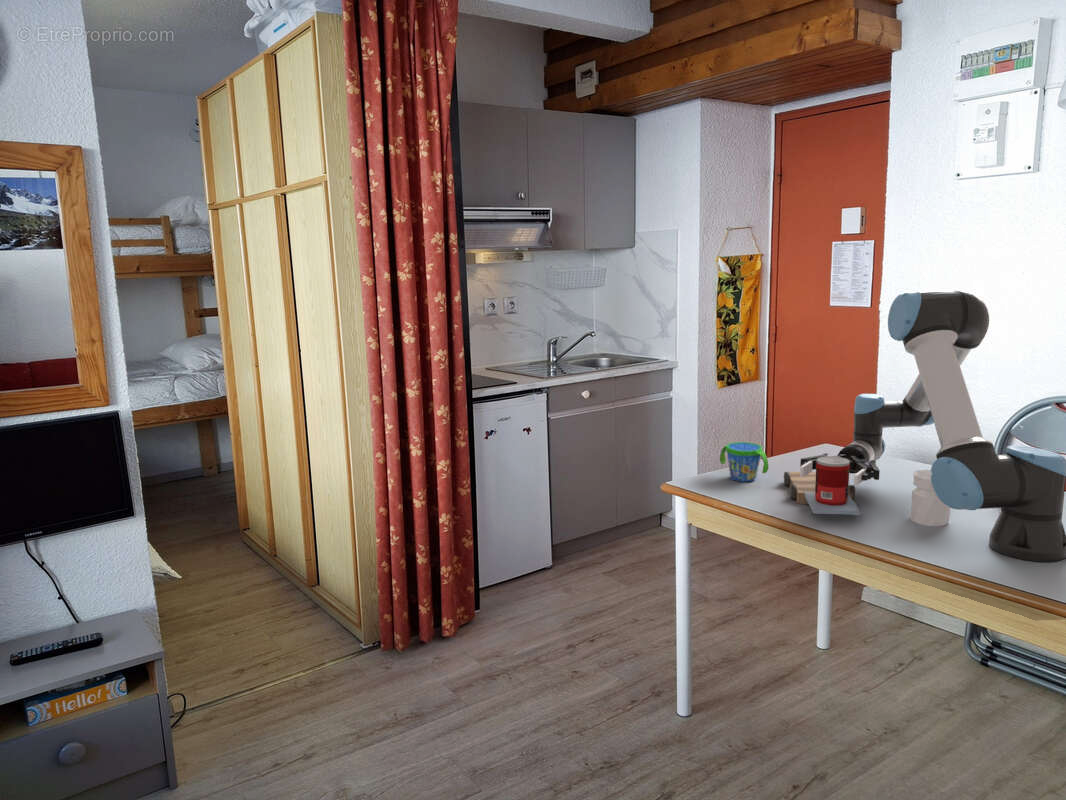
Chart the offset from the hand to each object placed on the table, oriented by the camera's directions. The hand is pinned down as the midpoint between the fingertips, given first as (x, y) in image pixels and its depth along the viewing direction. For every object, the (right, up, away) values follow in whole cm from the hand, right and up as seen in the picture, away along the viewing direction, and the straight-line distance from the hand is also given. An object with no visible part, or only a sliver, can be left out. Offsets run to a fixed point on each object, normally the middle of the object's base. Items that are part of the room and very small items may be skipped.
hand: (828, 476), depth 200 cm
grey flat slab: (+4, -6, +11) cm, 13 cm away
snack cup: (-12, -5, +37) cm, 39 cm away
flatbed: (+5, -7, +22) cm, 24 cm away
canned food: (+2, -7, +4) cm, 8 cm away
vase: (+25, -11, -3) cm, 27 cm away
